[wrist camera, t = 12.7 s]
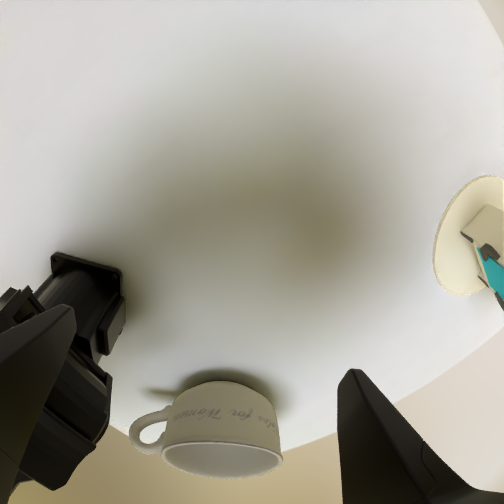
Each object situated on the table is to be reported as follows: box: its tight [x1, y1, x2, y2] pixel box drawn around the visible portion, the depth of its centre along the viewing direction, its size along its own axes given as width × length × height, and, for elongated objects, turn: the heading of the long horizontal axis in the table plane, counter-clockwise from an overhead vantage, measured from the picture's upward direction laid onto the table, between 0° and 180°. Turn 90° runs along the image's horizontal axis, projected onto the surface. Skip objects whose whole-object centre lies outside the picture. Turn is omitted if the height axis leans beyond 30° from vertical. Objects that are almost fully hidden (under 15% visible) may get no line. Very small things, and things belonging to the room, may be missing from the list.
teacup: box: [129, 381, 283, 479], centre depth 24 cm, size 14×11×8 cm
